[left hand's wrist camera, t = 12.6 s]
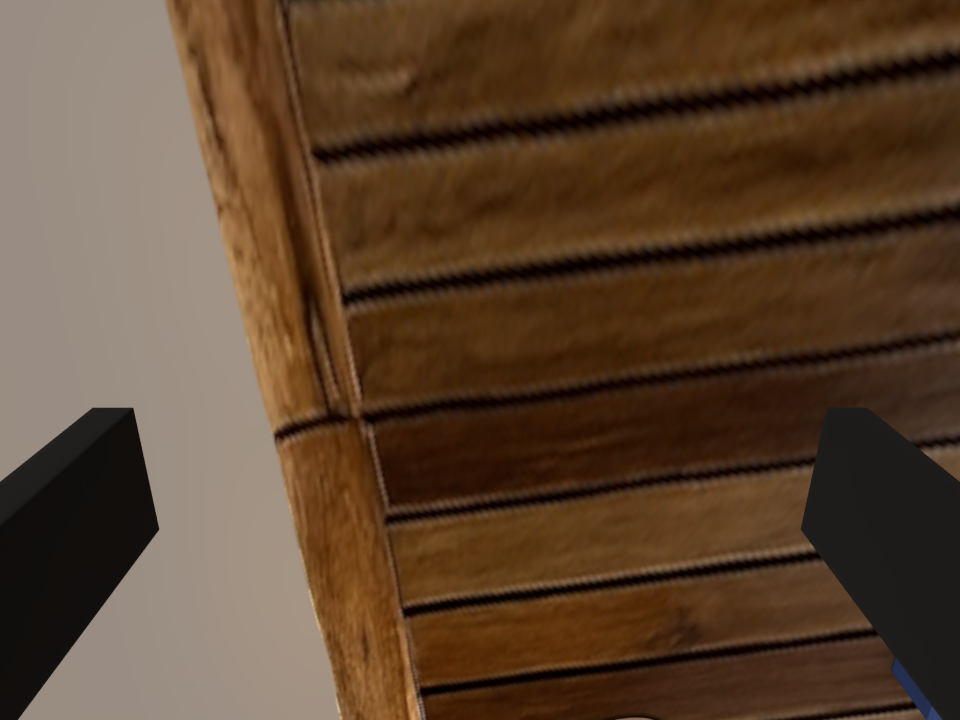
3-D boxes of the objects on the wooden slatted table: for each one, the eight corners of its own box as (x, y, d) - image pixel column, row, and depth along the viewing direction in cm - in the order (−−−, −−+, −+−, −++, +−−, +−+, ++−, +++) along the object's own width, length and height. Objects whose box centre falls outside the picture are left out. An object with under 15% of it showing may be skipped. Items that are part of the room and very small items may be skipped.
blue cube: (891, 671, 54) (927, 721, 49) (905, 622, 52) (943, 670, 48) (950, 670, 54) (992, 721, 49) (966, 622, 52) (1011, 670, 47)
